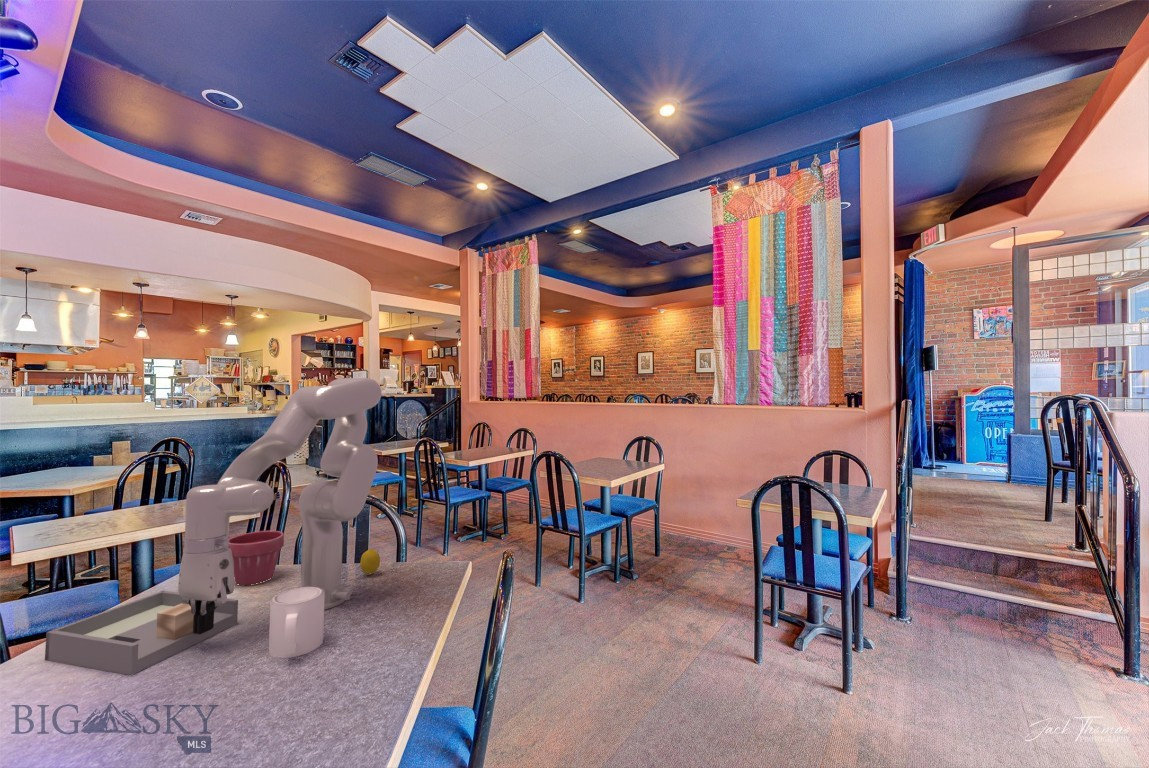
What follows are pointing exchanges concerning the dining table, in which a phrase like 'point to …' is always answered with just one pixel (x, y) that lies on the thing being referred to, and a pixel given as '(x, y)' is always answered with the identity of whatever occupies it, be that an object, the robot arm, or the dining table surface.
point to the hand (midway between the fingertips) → (203, 631)
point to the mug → (296, 621)
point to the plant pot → (255, 555)
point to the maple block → (174, 622)
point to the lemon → (370, 561)
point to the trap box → (128, 635)
